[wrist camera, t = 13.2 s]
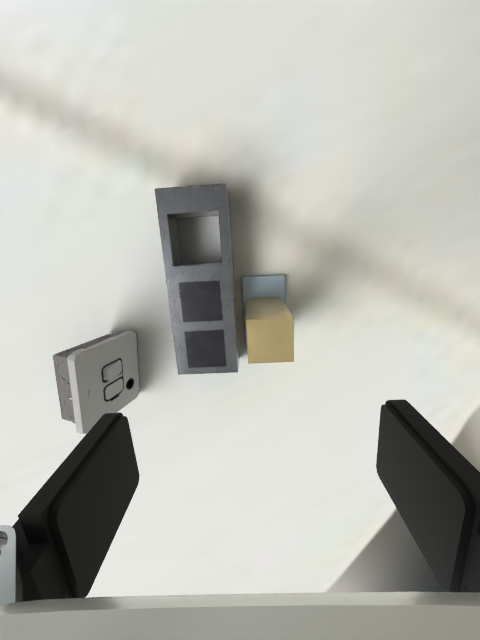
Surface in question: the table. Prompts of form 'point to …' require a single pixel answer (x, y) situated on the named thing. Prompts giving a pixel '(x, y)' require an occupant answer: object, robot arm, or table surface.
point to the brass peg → (269, 331)
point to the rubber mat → (262, 290)
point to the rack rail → (199, 283)
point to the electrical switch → (97, 378)
